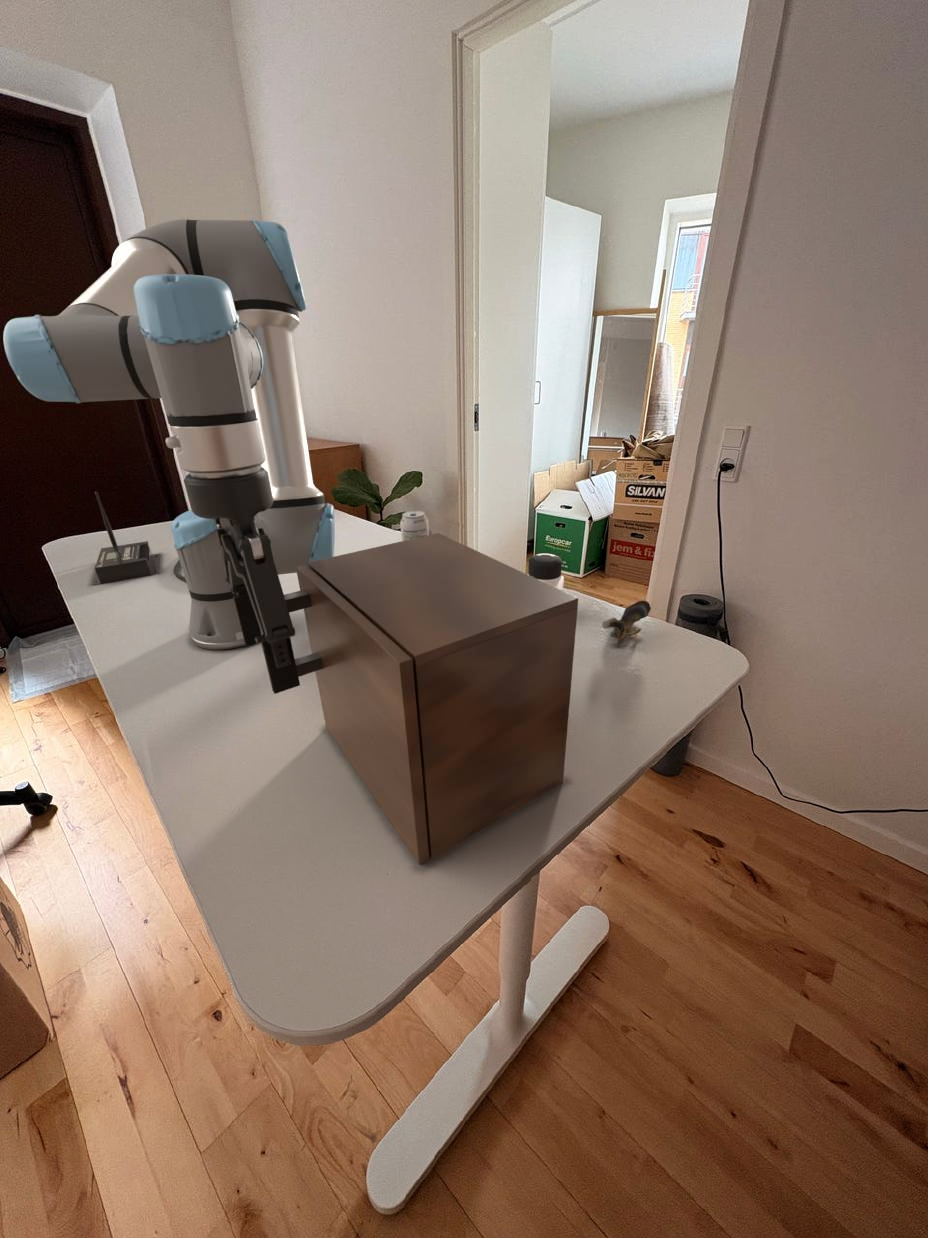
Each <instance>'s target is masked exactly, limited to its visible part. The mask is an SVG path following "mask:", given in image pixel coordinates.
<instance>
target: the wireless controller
mask: <svg viewBox="0 0 928 1238" xmlns="http://www.w3.org/2000/svg"><path fill="white" fill-rule="evenodd" d="M94 495H95V497H96V500H97V504H98V506H99V509H100V513H101V517H102V519H103V524H104V526H105V529H106V532H107V535H108V538H109V540H110V543H111V546H108V547H107V546H106V547H101V548H100V551H99V554H98V557H97V559H96V563H95V565H94V570H95V573H94V576H93V579H92V582H91V585H92V586H95V585H103V584H107V583H113V582H119V581H123V580H129V579H136V578H141V577H146V576H152V575H153V576H154V575H157V574H160V573H161V572H160V570H161V569H160V566H161V563H160V561H161V554H160V553H155V554H153V553H152V550H151V547H150V543H149V541H148V540H146V541H140V542H133V543H128V544H127V543H126V544H119V545H118V543H117V540H116V537H115V535H114V531H113V528H112V525H111V523H110V521H109V518H108V516H107V514H106V511H105V509H104V507H103V504H102V501H101V499H100V496H99V492H98V491H95V492H94Z"/></svg>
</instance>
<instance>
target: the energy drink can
mask: <svg viewBox="0 0 928 1238" xmlns="http://www.w3.org/2000/svg"><path fill="white" fill-rule="evenodd" d="M399 525H400V535H401V537H400V538H401V541H405V540H410V539H414V538H419V537H423V536H427V535H430V528H429V519H428V518H427V515H426V512H425V511H423V510H410V511H408V510H407V511H405V512H403V513H402V518H401V519H400V523H399Z"/></svg>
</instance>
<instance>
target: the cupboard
mask: <svg viewBox="0 0 928 1238" xmlns="http://www.w3.org/2000/svg"><path fill="white" fill-rule="evenodd" d="M308 567H309V568H310V569H311V570H312V571H313V572H315V573H316V574H317V575H318V576H319V577H320V578H321V579H323V580H324V581H325V582H326V583H327V584H328V585H329V586H330V587H332V588H333V589H334V590H335V591H336V592H337V593H338V594H340V595H341V596H342V597H343V598H344V599H345V600H346V601H347V602H349V603H350V604H351V605H352V606H353V607H354V608H355V609H357V610H358V611H359V612H360V613H361V614H362V615H363V616H364V617H366V618H367V619H368V620H369V621H370V622H371V623H372V624H374V625H375V626H376V627H377V628H378V629H379V630H380V631H381V632H383V633H384V634H385V635H386V636H387V637H388V638H389V639H391V640H392V641H393V642H394V643H395V644H396V645H397V646H398V647H400V648H401V649H402V650H403V651H404V652H405V653H406V654H408V655H409V656H410V657H411V658H412V660H413V672H414V683H415V695H416V707H417V719H418V731H419V742H420V754H421V766H422V778H423V790H424V801H425V813H426V825H427V837H428V849H429V858H431V859H434V858H435V857H437V856H439V855H441V854H442V853H444V852H446V851H447V850H449V849H451V848H452V847H454V846H456V845H458V844H459V843H461V842H463V841H465V840H466V839H468V838H470V837H471V836H473V835H475V834H476V833H478V832H480V831H482V830H484V829H485V828H487V827H489V826H490V825H492V824H494V823H495V822H497V821H499V820H501V819H502V818H504V817H505V816H508V815H510V814H511V813H512V812H514V811H516V810H518V809H520V808H521V807H523V806H525V805H526V804H528V803H530V802H532V801H533V800H535V799H537V798H538V797H540V796H541V795H544V794H545V793H547V792H549V791H550V790H553V789H554V788H556V787H557V786H559V785H561V784H563V782H564V777H565V776H564V774H565V764H566V763H565V761H566V751H567V740H568V739H567V738H568V726H569V716H570V715H569V714H570V704H571V691H572V681H573V680H572V679H573V667H574V655H575V645H576V631H577V621H578V620H577V619H578V608H579V597H576V596H574V595H572V594H571V593H568V592H566V591H564V590H563V591H562V590H559V589H557V588H555V587H553V586H551V585H549V584H547V583H544V582H542V581H540V580H538V579H536V578H534V577H532V576H529V575H527V574H528V573H525V572H523V571H521V570H519V569H516V568H514V567H512V566H510V565H508V564H506V563H504V562H502V561H500V560H497V559H495V558H493V557H491V556H489V555H486V554H485V553H482V552H481V551H478V550H476V549H473V548H471V547H469V546H467V545H465V544H463V543H461V542H459V541H457V540H454V539H452V538H450V537H448V536H445V535H444V534H442V533H439V532H437V533H433V534H429V535H427V536H423V537H419V538H414V539H410V540H405V541H402V540H401V541H397V542H392V543H388V544H383V545H380V546H379V545H378V546H375V547H371V548H365V549H361V550H358V551H353V552H349V553H344V554H340V555H336V556H335V555H334V557H330V558H326V559H322V560H317V561H313V562H308Z"/></svg>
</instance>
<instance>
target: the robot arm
mask: <svg viewBox="0 0 928 1238" xmlns="http://www.w3.org/2000/svg"><path fill="white" fill-rule="evenodd" d="M294 255H295V254H294V251H293V248H292V244H291V240H290V237H289V233H288V231H287V230H286V228H285V227H284V226H283V225H282V224H280V223H278V222H275V221H264V220H257V219H254V218H251V220H243V219H242V220H241V219H240V220H238V219H237V220H235V219H188V218H187V219H186V218H182V219H181V218H180V219H173V220H172V219H171V220H167V221H163V222H158V223H157V224H154V225H152V226H149V227H146V228H145V229H142V230H140V231H139V232H136V233H135V234H133V235H131V236H130V237H128V238H127V239H126V240H124V241H123V242H121V243H120V244H119V245H118V246H117V247H116V249H115V250H114V252H113V255H112V259H111V266H110V267H109V269H107V270H106V271H105V272H104V273H103V274H102V275H100V276H99V277H98V278H97V280H95V281H94V282H93V283H92V284H91V285H90V286H88V288H86V290H85V291H84V292H82V293H81V294H80V295H79V296H78V297H77V298H75V300H74V301H72V303H70V305H68V306H67V307H66V308H65V309H64V310H62V311H61V312H60V313H59V314H58V315H52V316H49V315H48V316H47V315H41V314H35V315H33V316H23V317H15V318H12V319H10V320H9V321H8V322H6V324H5V326H4V330H3V335H2V336H3V337H2V338H3V347H4V352H5V356H6V358H7V360H8V363H9V366H10V367H11V369H12V371H13V372H14V373H13V374H15V376H16V378H17V380H18V381H19V383H20V384H21V385H22V386H23V387H24V389H25V390H26V391H27V392H28V393H30V394H31V395H32V396H34V397H35V398H37V399H39V400H42V401H45V402H49V403H50V402H52V403H53V402H61V403H62V402H63V403H65V402H66V403H67V402H68V403H76V404H82V403H88V402H89V403H90V402H92V403H93V402H110V401H111V402H112V401H128V400H131V401H132V400H147V399H161V401H162V405H163V409H164V412H165V415H166V420H167V423H168V425H169V428H170V429H169V430H170V432H172V433H173V434H174V435H173V436H168V437H166V438H165V444H166V447H167V448H169V449H176V456H177V459H178V463H179V466H180V469H182V470H183V471H184V472H188V474H187V475H186V476H185V477H184V479H183V484H184V487H185V492H186V495H187V498H188V501H189V505H190V510H186V511H185V512H183V513H181V514H179V515H178V516H176V517H175V518H174V519H173V521H172V523H171V525H170V527H171V533H172V538H173V541H174V545H173V546H174V549H175V551H176V553H177V556H178V561H177V562H176V564H175V565H174V567H173V570H172V571H173V575H174V577H176V578H177V579H179V580H181V581H183V582H185V583H186V586H187V589H188V593H189V596H190V600H191V602H190V615H189V626H188V627H189V628H188V629H189V636H190V638H191V642H192V643H193V644H194V645H195V646H197V647H199V648H201V649H206V650H215V651H217V650H218V651H219V650H231V649H236V648H241V647H246V648H247V647H251V646H254V645H258V644H261V649H262V652H263V656H264V661H265V664H266V668H267V674H268V677H269V681H270V685H271V690H272V692H273V694H274V695H277V694H279V693H282V692H284V691H287V690H288V691H289V690H291V689H293V688H297V687H299V686H301V683H300V682H301V681H300V677H298V673H297V668H296V663H295V659H296V658H295V653H294V649H293V645H292V640H291V637H294V636H296V629H295V627H294V625H293V622H292V619H291V615H290V613H289V611H288V608H287V604H286V601H285V597H284V595H285V594H284V591H283V587H282V584H281V581H280V580H281V579H280V576H279V575H287V574H288V575H289V574H297V571H296V567H297V566H301V565H307V566H308V562H313V561H317V560H322V559H326V558H330V557H335V539H336V538H335V532H336V531H335V529H336V528H335V506H334V505H333V504H331V503H329V502H327V503H326V501H325V495H324V493H323V492H322V491H321V490H319V488H317V487H316V486H315V484H314V480H313V473H312V466H311V460H310V459H311V458H310V452H309V445H308V438H307V431H306V424H305V417H304V411H303V404H302V403H303V402H302V398H301V397H302V396H301V390H300V384H299V383H300V382H299V377H298V368H297V364H296V356H295V350H294V349H295V348H294V342H293V333H294V332H295V331H296V329H297V328H298V327H299V326H300V316H299V313H302V312H303V311H305V310H307V307H308V306H307V303H306V299H305V298H306V297H305V294H304V290H303V286H302V282H301V279H300V275H299V271H298V267H297V262H296V259H295V256H294ZM180 567H181V569H182V573H183V575H181V574H180V573H179V568H180ZM260 630H261V631H260ZM261 633H262V634H261Z"/></svg>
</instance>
